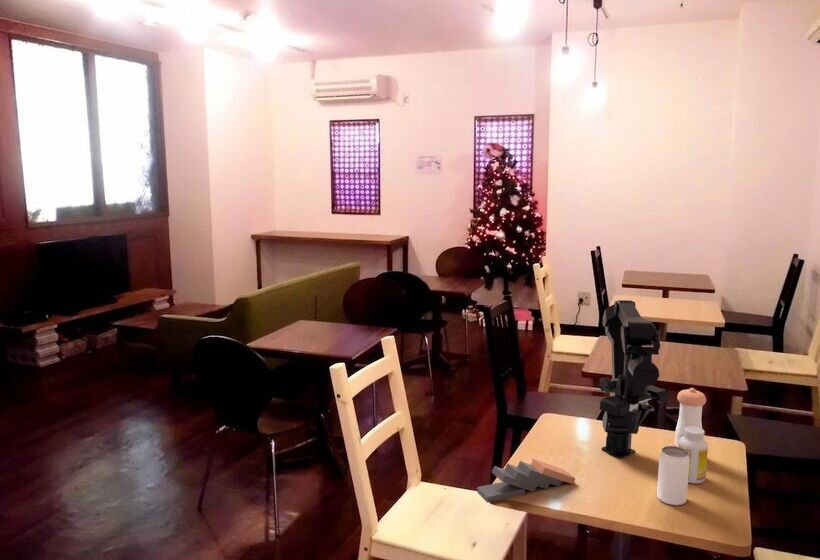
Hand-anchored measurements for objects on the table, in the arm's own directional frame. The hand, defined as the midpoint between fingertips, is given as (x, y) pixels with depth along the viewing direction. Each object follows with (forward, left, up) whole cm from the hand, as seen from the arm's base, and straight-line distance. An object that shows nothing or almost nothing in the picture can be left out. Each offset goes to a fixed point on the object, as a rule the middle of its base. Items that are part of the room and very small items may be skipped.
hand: (632, 433), depth 160 cm
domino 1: (+27, -10, -11) cm, 31 cm away
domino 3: (+21, -9, -11) cm, 25 cm away
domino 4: (+17, -9, -11) cm, 22 cm away
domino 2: (+24, -10, -11) cm, 28 cm away
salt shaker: (-23, 0, -12) cm, 26 cm away
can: (0, +12, -12) cm, 17 cm away
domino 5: (+13, -8, -11) cm, 19 cm away
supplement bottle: (-13, +8, -12) cm, 20 cm away
